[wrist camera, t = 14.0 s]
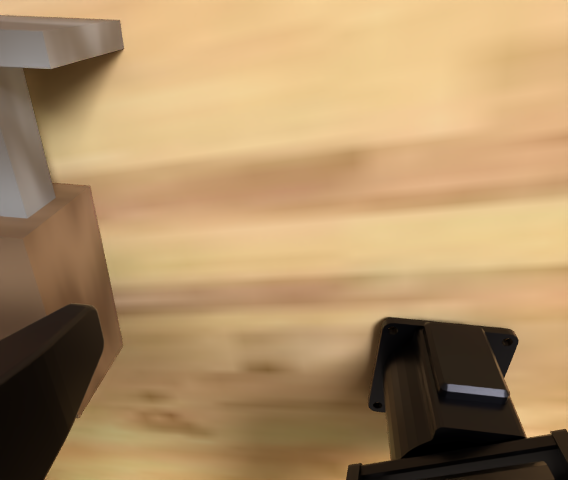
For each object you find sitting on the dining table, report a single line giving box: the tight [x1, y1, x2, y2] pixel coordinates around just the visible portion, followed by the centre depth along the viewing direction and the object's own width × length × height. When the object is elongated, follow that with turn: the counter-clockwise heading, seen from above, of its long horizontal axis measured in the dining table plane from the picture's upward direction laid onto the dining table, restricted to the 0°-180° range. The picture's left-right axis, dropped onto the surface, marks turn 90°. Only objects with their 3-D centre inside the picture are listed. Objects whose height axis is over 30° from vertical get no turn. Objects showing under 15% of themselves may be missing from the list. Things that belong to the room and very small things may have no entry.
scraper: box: [0, 15, 124, 418], centre depth 19 cm, size 17×8×5 cm, turn 178°
